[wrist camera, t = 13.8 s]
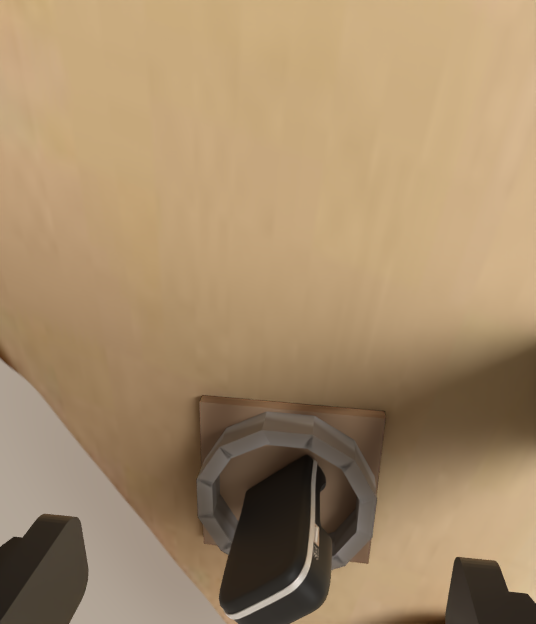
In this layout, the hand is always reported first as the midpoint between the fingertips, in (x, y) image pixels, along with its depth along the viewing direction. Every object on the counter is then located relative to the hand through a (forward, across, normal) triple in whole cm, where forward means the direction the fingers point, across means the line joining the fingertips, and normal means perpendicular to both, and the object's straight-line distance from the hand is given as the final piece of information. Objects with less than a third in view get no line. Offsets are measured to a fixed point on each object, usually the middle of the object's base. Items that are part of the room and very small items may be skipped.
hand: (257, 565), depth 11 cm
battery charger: (+25, +1, +18) cm, 31 cm away
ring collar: (+26, +2, +18) cm, 32 cm away
